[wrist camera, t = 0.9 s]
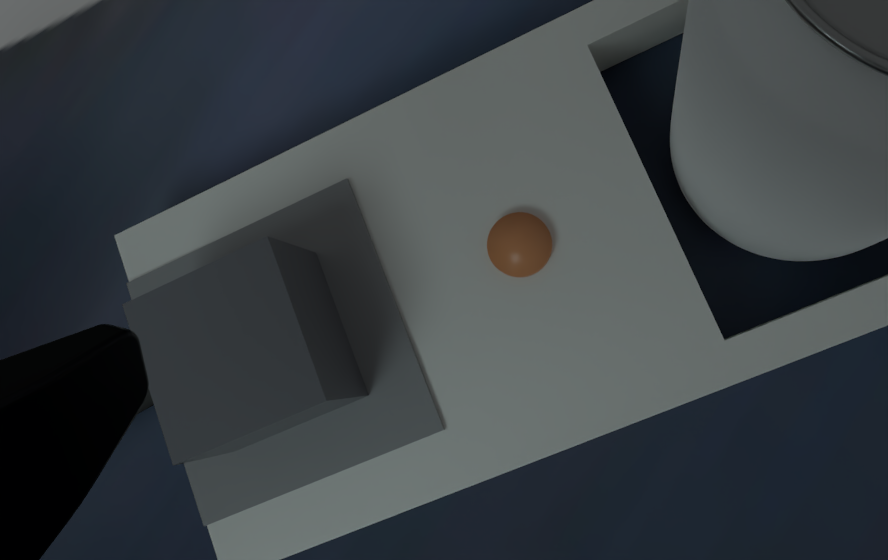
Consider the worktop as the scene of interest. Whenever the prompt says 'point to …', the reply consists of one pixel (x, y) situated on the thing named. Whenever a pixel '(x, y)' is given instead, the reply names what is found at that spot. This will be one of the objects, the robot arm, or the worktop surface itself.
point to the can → (785, 124)
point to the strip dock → (474, 286)
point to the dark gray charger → (243, 350)
